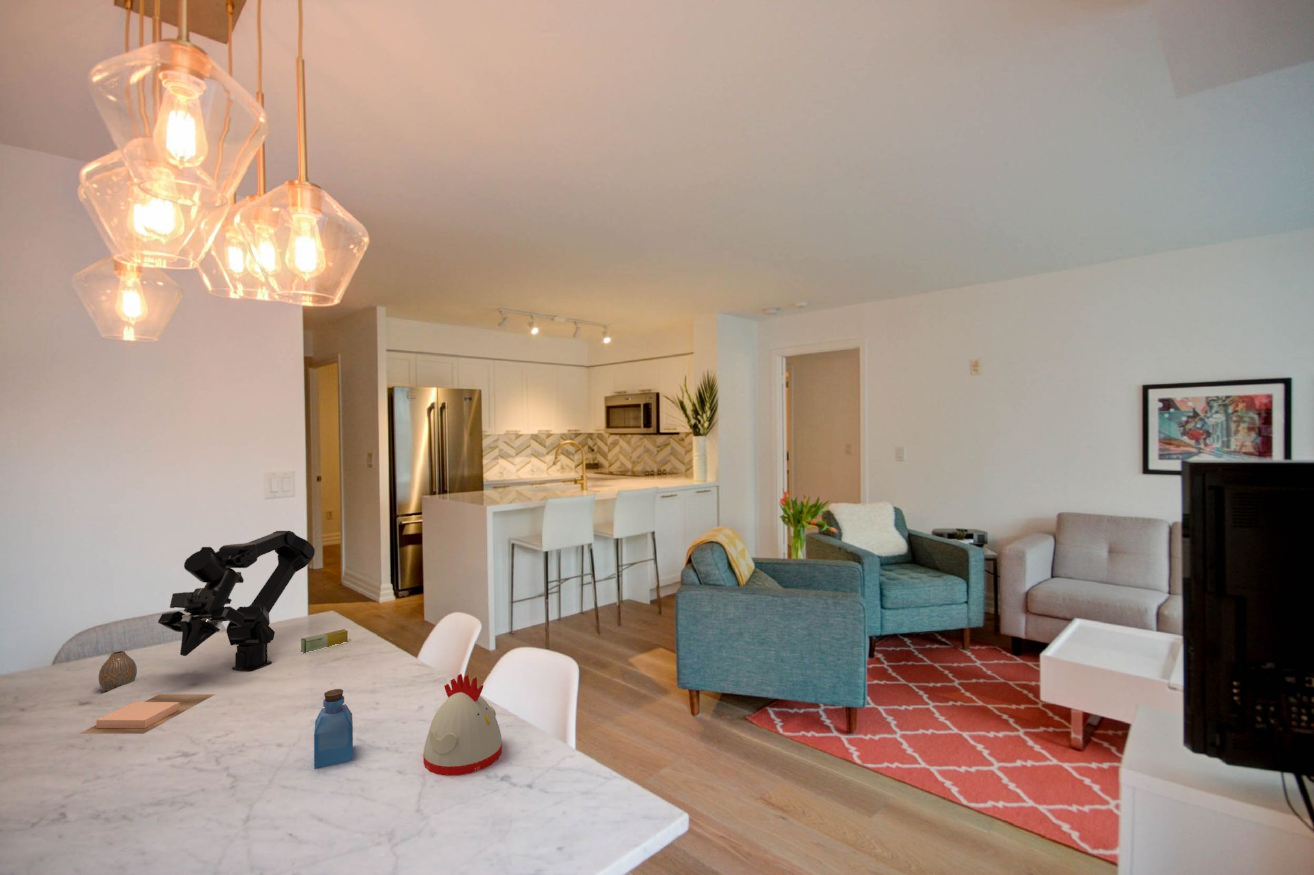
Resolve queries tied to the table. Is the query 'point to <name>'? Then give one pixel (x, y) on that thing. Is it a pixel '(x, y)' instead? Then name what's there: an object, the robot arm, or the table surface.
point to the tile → (138, 715)
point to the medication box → (323, 640)
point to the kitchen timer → (462, 732)
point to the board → (184, 704)
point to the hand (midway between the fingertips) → (183, 655)
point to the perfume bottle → (333, 731)
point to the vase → (117, 671)
